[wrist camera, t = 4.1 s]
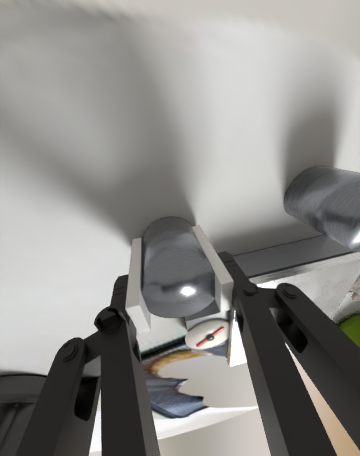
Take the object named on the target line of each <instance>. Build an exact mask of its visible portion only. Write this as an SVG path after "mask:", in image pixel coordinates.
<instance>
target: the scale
mask: <svg viewBox="0 0 360 456" xmlns="http://www.w3.org/2000/svg"><path fill="white" fill-rule="evenodd" d="M352 253H357V252H355V251H353V250H351V249H349V248H347V247H346V246H344V245H342V244H340V243H339V242H337V241H335V240H333V239H332V238H330V237H328V236H326V235H323V236H319V237H314V238H310V239H306V240H301V241H297V242H293V243H288V244H284V245H279V246H275V247H271V248H266V249H262V250H257V251H253V252H249V253H244V254H240V255H236V256H232V257H233V258H234V260H235V261H236V263H237V264H238V265H239V267H240V268H241V269H242V271H243V272H244V274H245V275H246V276H247V278H248V279H250V278H254V277H258V276H262V275H266V274H270V273H275V272H279V271H283V270H287V269H291V268H295V267H299V266H303V265H307V264H311V263H316V262H320V261H324V260H328V259H332V258H336V257H340V256H344V255H348V254H352ZM230 314H231V310H227V311H224V312H220V310H219V307H218V305H217V303H216V300H215V299H214V300H213V302H212V303H210V304H209V305H208V306H207V307H206V308H204V309H203V310H201V311H199V312H197V313H195V314H192V315H189V316H185V321H186V326H187V331H188V333H187V334H186V337H185V341H186V344H187V346H188V347H190V348H191V350H192V353H194V352H198V351H202V350H205V349H209V348H212V347H216V346H220V345H222V348H223V351H224V354H225V356H226V358H227V354H228V341H229V328H230Z"/></svg>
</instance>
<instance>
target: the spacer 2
mask: <svg viewBox="0 0 360 456" xmlns="http://www.w3.org/2000/svg"><path fill="white" fill-rule="evenodd" d="M284 209H285V211H286V212H287V213H288V214H290V215H291V216H293V217H295V218H297V219H298V220H300V221H302V222H304V223H305V224H307V225H309V226H311V227H312V228H314V229H316V230H318V231H319V232H321V233H323V234H325V235H326V236H328V237H330V238H332V239H333V240H335V241H337V242H339V243H340V244H342V245H344V246H346V247H347V248H349V249H351V250H353V251H355V252H360V173H358V172H353V171H348V170H342V169H337V168H332V167H326V166H314V167H311V168H309V169H307V170H305V171H303V172H302V173H301V174H299V175H298V176H297V177H296V178H295V179H294V180H293V182H292V183H291V184H290V186H289V187H288V189H287V191H286V194H285V197H284Z"/></svg>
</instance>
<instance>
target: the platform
mask: <svg viewBox="0 0 360 456" xmlns="http://www.w3.org/2000/svg"><path fill="white" fill-rule="evenodd" d="M359 275H360V252H357V253H352V254H348V255H344V256H340V257H336V258H332V259H328V260H324V261H320V262H316V263H311V264H307V265H303V266H299V267H295V268H291V269H287V270H283V271H279V272H275V273H270V274H266V275H262V276H258V277H254V278H250V279H249V280H250V282H252V283H255V284H256V285H257V286H259V287H263V288H276V287H277V285H278V284H280V283H290V284H292V285H295V286H296V287H298V288H299V289H300V290H301V291H302V292H303V293H304V294H305V295H307V296H308V297H309V298H310V299H311V300H312V301H313V302H314V303H315V304H316V305H317V306H318V307H319V308H320V309H321V310H322V311H323V312H324V313H325V314H326V315H327V316H328V317H329V318H331V317H332V315H333V314H334V312H335V311H336V309H337V308H338V306H339V305H340V303H341V302H342V300H343V299H344V297H345V296H346V294H347V293H348V291H349V290H350V288H351V287H352V285H353V284H354V283H355V281H356V280H357V278H358V277H359ZM234 318H235V309H234V307H233V305H232V309H231V314H230V328H229V341H228V354H227V362H228V365H229V367H232V366H235V365H238V364H242V363H245V362H247V360H246V356H245V352H244V348H243V345H242V341H241V337H240V333H239V329H238V325H237V321H236V323H235V322H234ZM286 345H287V344H286ZM287 348H288V350H289V349H290V348H289V347H288V346H287Z"/></svg>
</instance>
